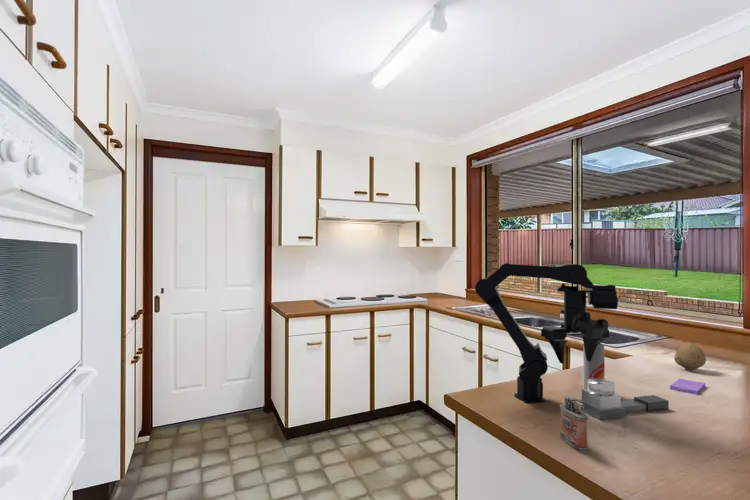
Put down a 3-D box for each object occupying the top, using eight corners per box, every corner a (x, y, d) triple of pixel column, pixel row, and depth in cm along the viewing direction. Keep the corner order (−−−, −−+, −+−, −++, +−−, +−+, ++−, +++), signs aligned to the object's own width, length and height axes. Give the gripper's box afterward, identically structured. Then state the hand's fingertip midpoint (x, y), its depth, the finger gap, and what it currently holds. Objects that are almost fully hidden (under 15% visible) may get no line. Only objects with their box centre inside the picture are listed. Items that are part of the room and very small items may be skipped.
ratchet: (599, 420, 100) (599, 401, 100) (576, 409, 108) (576, 390, 108) (675, 412, 106) (674, 394, 106) (648, 402, 114) (647, 384, 114)
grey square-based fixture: (600, 409, 101) (600, 386, 101) (581, 401, 107) (581, 379, 107) (620, 407, 102) (620, 384, 103) (601, 399, 109) (600, 377, 109)
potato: (713, 374, 141) (713, 347, 141) (688, 374, 141) (688, 346, 142) (693, 367, 150) (693, 341, 150) (670, 367, 150) (670, 341, 151)
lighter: (556, 435, 91) (556, 392, 91) (570, 435, 92) (569, 392, 92) (577, 452, 83) (576, 405, 83) (592, 452, 83) (591, 405, 84)
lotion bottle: (607, 396, 118) (607, 330, 118) (587, 395, 119) (586, 329, 119) (600, 390, 123) (600, 327, 124) (581, 389, 124) (580, 326, 125)
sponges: (669, 390, 125) (669, 385, 125) (679, 382, 133) (679, 377, 133) (697, 396, 120) (697, 390, 120) (705, 388, 128) (705, 382, 128)
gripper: (567, 312, 102) (567, 372, 101) (625, 310, 106) (626, 367, 106) (539, 307, 112) (540, 361, 112) (593, 305, 117) (594, 357, 117)
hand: (575, 362), depth 111 cm, fingers open, 9 cm apart
